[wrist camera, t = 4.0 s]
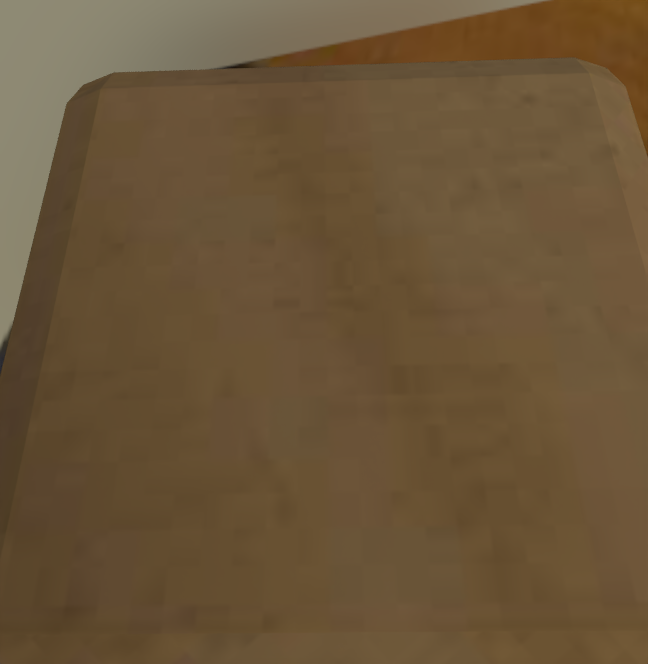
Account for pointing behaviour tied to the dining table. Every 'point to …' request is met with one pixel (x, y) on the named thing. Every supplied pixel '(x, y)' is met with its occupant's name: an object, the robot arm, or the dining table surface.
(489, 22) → the dining table surface
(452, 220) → the wooden block
